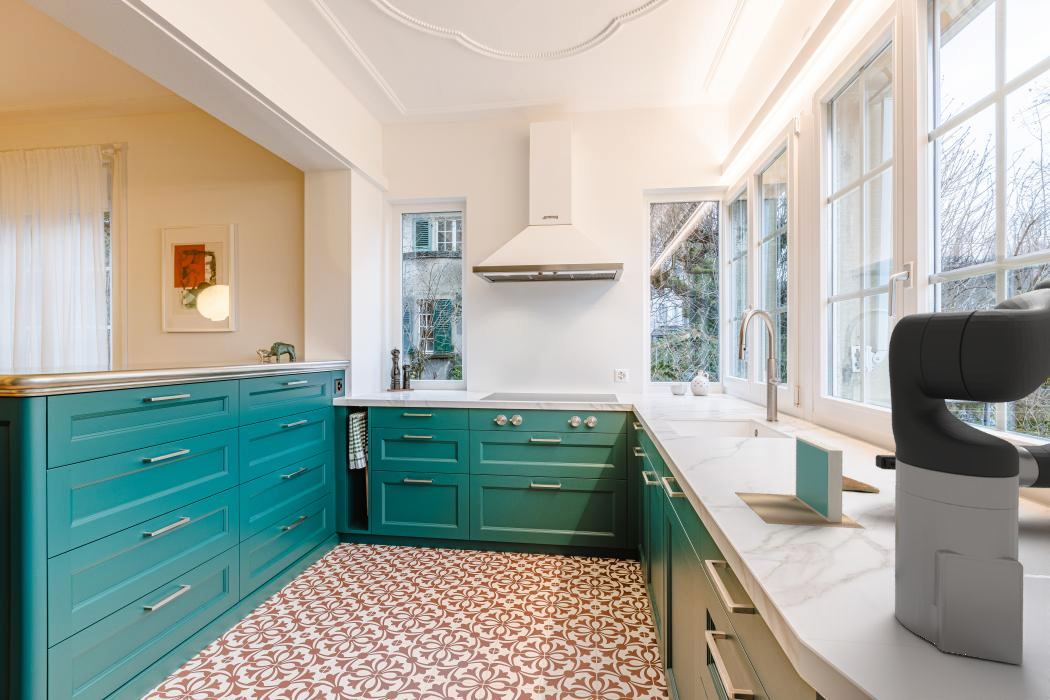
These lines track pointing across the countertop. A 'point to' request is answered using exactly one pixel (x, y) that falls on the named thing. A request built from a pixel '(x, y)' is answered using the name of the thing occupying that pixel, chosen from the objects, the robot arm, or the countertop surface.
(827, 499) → the tile
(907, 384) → the robot arm
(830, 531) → the countertop surface
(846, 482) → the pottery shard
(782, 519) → the plate
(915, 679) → the countertop surface
